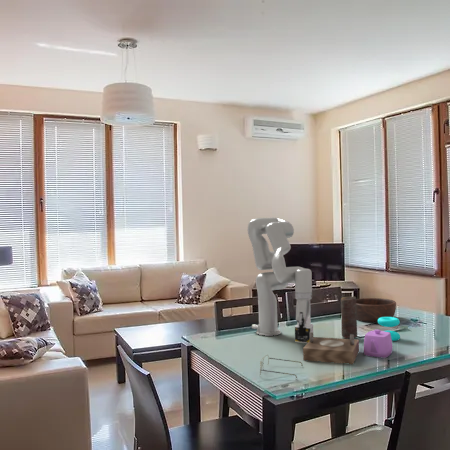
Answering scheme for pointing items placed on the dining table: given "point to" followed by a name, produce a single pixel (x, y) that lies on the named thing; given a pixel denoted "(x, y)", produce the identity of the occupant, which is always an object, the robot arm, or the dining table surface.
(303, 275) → the robot arm
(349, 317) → the brown rusty cylinder
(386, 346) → the teapot
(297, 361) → the eyeglasses
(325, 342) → the stand
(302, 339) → the medicine bottle
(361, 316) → the wooden bowl
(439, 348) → the dining table surface
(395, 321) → the donuts
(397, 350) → the dining table surface
